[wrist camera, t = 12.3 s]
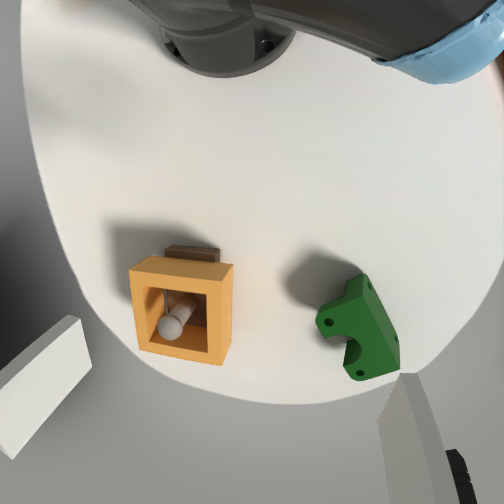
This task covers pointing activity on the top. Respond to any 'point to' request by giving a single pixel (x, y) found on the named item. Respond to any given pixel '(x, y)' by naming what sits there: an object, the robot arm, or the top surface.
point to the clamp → (362, 330)
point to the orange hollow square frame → (189, 280)
